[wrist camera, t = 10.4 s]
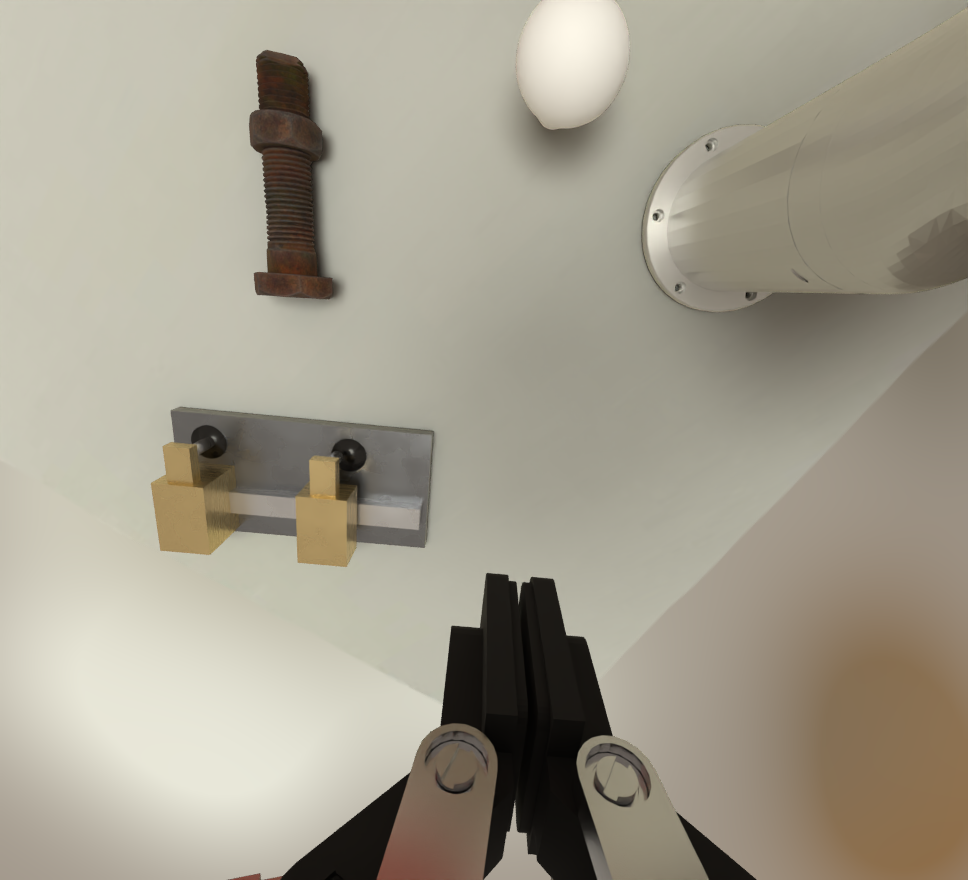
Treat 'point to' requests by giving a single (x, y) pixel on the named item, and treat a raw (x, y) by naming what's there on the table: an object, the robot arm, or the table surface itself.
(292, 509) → the hole plate
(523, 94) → the lightbulb
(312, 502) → the block
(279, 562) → the table surface
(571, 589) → the table surface
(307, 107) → the bolt
